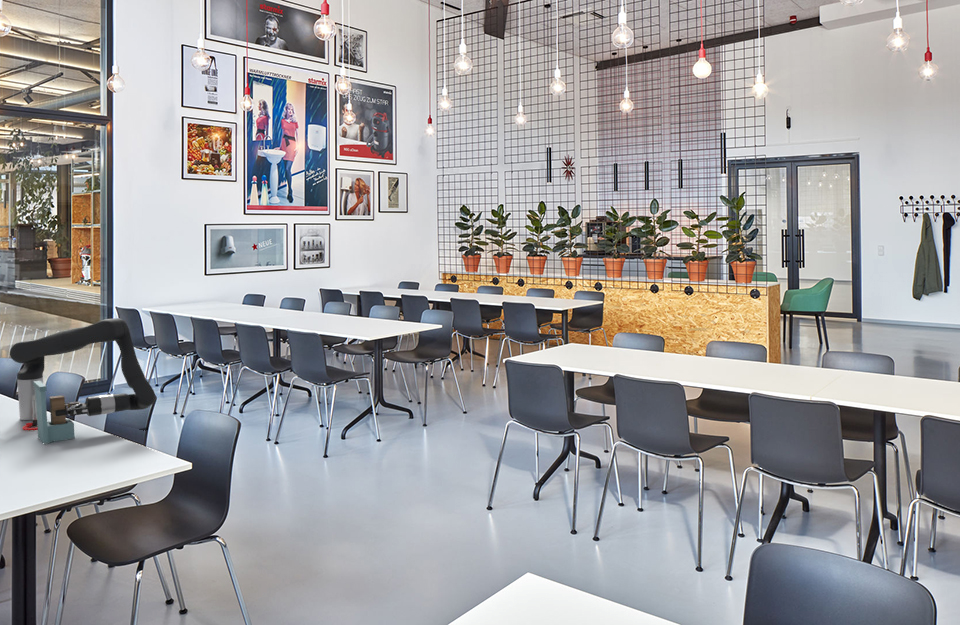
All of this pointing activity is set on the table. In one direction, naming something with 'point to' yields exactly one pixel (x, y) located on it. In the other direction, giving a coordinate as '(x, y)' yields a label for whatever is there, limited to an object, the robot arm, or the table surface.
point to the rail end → (57, 404)
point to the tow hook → (34, 420)
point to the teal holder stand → (45, 428)
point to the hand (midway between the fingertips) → (53, 411)
